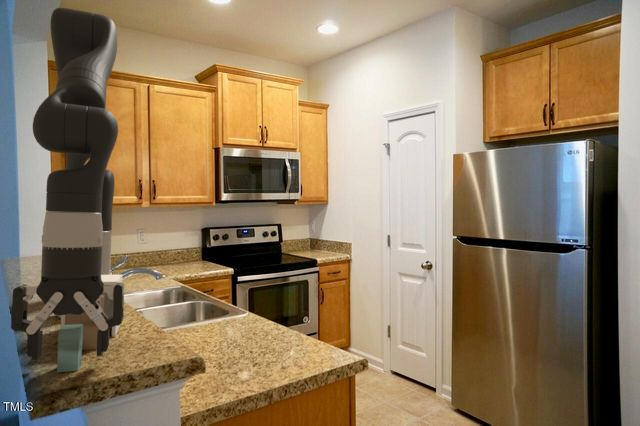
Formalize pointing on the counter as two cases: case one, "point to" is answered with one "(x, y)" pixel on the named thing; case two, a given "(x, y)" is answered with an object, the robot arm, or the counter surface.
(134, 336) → the counter surface
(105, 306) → the cream white box
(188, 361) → the counter surface
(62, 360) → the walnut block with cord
